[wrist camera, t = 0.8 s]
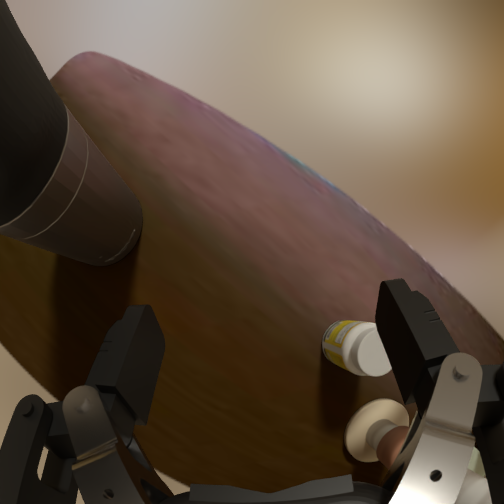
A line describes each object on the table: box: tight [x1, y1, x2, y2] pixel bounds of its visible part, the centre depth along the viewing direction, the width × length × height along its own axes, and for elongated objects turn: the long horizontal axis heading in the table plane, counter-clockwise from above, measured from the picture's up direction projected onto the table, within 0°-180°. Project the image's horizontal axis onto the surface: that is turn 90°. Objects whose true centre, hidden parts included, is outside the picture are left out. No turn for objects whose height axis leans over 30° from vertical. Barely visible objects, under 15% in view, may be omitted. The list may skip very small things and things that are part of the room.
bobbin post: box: [344, 398, 492, 504], centre depth 15 cm, size 8×8×26 cm
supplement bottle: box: [322, 320, 392, 377], centre depth 26 cm, size 5×5×8 cm
